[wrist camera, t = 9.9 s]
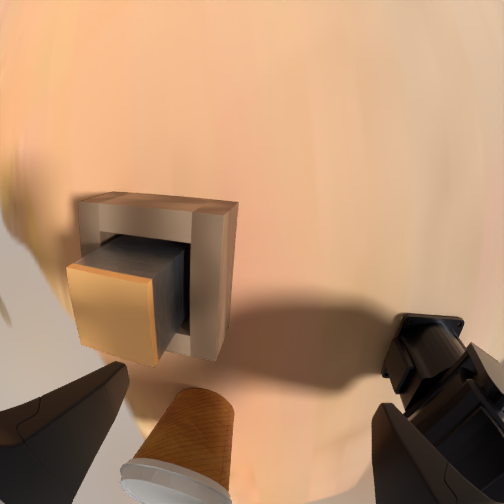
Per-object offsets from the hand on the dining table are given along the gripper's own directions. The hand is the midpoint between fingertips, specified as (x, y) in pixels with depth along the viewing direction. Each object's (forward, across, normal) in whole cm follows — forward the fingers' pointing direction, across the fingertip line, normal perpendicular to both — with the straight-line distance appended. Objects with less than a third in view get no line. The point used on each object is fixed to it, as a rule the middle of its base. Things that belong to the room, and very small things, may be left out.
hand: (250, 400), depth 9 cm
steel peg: (+13, +8, +1) cm, 15 cm away
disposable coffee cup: (+13, +5, +17) cm, 22 cm away
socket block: (+13, +8, +1) cm, 15 cm away
